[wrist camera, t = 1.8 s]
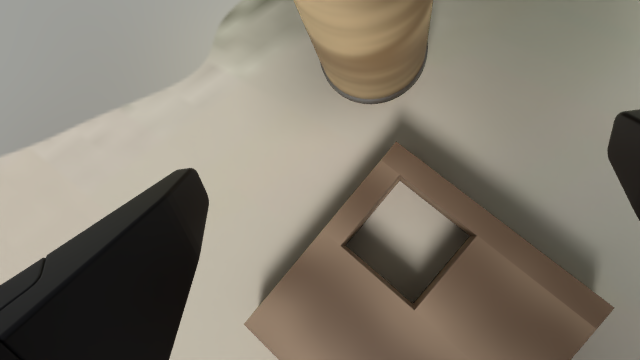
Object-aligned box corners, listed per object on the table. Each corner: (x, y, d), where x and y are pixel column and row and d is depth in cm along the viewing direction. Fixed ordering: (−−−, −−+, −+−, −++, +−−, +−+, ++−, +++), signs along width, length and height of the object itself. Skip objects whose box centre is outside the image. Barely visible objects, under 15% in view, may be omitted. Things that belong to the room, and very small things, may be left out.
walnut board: (433, 491, 20) (436, 518, 18) (257, 317, 23) (243, 324, 21) (593, 301, 20) (614, 307, 18) (396, 149, 23) (396, 141, 21)
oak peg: (381, 133, 23) (360, 2, 10) (307, 77, 24) (208, -101, 12) (445, 56, 23) (503, -172, 10) (368, 4, 24) (335, -255, 12)
